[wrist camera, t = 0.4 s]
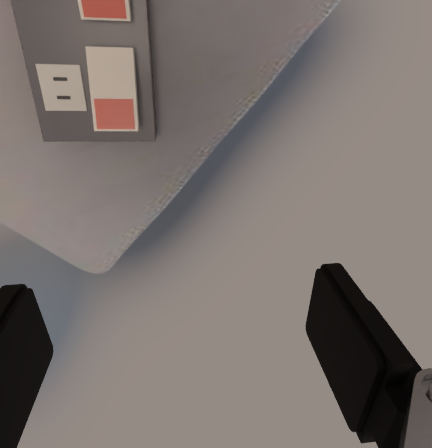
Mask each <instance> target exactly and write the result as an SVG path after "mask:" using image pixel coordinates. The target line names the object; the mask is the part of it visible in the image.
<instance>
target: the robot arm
mask: <svg viewBox="0 0 432 448" xmlns="http://www.w3.org/2000/svg"><path fill="white" fill-rule="evenodd" d="M306 332H307V335H308V338H309V340H310V342H311V344H312V347H313V349H314V351H315V353H316V356H317V358H318V360H319V362H320V365H321V367H322V369H323V371H324V373H325V376H326V378H327V380H328V382H329V385H330V387H331V389H332V391H333V393H334V396H335V398H336V400H337V403H338V405H339V407H340V409H341V411H342V414H343V416H344V418H345V420H346V423H347V425H348V427H349V429H350V430H351V431H352V432H356V433H357V435H358V438H359V440H360V442H361V443H367V442H376V443H377V446H378V448H432V369H431V368H429V369H423V370H422V369H421V367H420V366H419V365H418V363H417V362H416V361H415V359H414V358H413V357H412V355H411V354H410V353H409V351H408V350H407V349H406V347H405V346H404V345H403V343H402V342H401V341H400V339H399V338H398V337H397V335H396V334H395V333H394V331H393V330H392V329H391V327H390V326H389V325H388V323H387V322H386V321H385V319H384V318H383V317H382V315H381V314H380V313H379V311H378V310H377V309H376V307H375V306H374V305H373V304H372V303H371V302H370V301H368V300H367V298H366V297H365V296H364V294H363V293H362V292H361V290H360V289H359V288H358V286H357V285H356V284H355V282H354V281H353V280H352V278H351V277H350V276H349V274H348V273H347V271H346V270H345V269H344V267H343V266H342V265H341V264H339V263H333V264H323V265H322V266H321V268H320V269H317V270H316V273H315V278H314V284H313V289H312V294H311V300H310V305H309V310H308V316H307V321H306ZM52 356H53V345H52V342H51V340H50V337H49V334H48V331H47V328H46V326H45V323H44V320H43V317H42V315H41V312H40V309H39V306H38V303H37V301H36V298H35V295H34V293H33V290H32V289H31V288H27V287H26V285H24V284H17V285H5V286H2V287H1V288H0V448H17V445H18V443H19V440H20V438H21V435H22V433H23V430H24V428H25V425H26V422H27V420H28V417H29V415H30V412H31V410H32V407H33V405H34V402H35V400H36V397H37V394H38V392H39V389H40V387H41V384H42V382H43V379H44V377H45V374H46V371H47V369H48V366H49V364H50V361H51V359H52Z"/></svg>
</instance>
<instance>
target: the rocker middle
mask: <svg viewBox="0 0 432 448" xmlns="http://www.w3.org/2000/svg"><path fill="white" fill-rule="evenodd" d="M77 1H78V6H79V11H80V16H81V20H109V21H131V19H132V17H131V7H130V0H77Z"/></svg>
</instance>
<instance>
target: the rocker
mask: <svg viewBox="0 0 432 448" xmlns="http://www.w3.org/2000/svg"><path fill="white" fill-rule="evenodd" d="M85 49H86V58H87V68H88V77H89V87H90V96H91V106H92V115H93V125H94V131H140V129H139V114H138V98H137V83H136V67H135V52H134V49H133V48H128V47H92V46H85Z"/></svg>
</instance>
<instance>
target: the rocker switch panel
mask: <svg viewBox="0 0 432 448" xmlns="http://www.w3.org/2000/svg"><path fill="white" fill-rule="evenodd" d="M11 4H12V8H13V12H14V17H15V21H16V25H17V29H18V34H19V38H20V42H21V46H22V51H23V55H24V59H25V63H26V68H27V72H28V76H29V80H30V84H31V89H32V93H33V97H34V101H35V106H36V110H37V114H38V118H39V123H40V127H41V131H42V135H43V139H44V141H155V140H156V135H157V130H156V114H155V98H154V82H153V66H152V50H151V34H150V18H149V1H148V0H130V7H131V17H132V19H131V21H109V20H81V16H80V11H79V6H78V1H77V0H11ZM85 46H92V47H128V48H133V49H134V52H135V67H136V83H137V98H138V114H139V129H140V131H94V125H93V115H92V106H91V96H90V87H89V77H88V68H87V58H86V49H85Z"/></svg>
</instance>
